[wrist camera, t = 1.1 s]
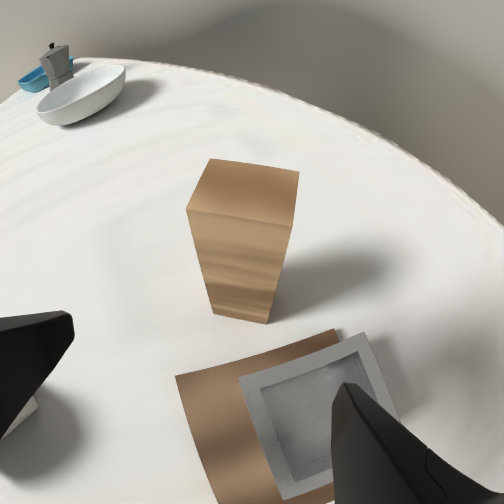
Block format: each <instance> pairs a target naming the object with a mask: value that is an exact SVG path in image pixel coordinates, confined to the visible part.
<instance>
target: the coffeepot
mask: <svg viewBox="0 0 504 504" xmlns="http://www.w3.org/2000/svg"><path fill="white" fill-rule="evenodd" d="M49 47H50V49H51V50H49V51H48V52H47V53H46V54H45V55H43V56H42V57H41V58H40V59H39V60H40V62H41V65H42V67H43V69H44V71H45V73H46V75H47V76H48V78H49V80H50V81H49V85H50V92H51V91H52V90H54V89H55V88H57V87H58V86H60V85H61V84H63V83H65V82H66V81H68V80H70V79H72V78H74V76H73V74H72V72H71V71H70V69H69V65H70V62H69V48H68V45H64V46H57V47H55V48H54V43H51V44H50V45H49Z"/></svg>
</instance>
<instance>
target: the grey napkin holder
mask: <svg viewBox="0 0 504 504" xmlns="http://www.w3.org/2000/svg"><path fill="white" fill-rule="evenodd" d="M37 408H39V407H38V403H37V401H36V399H35V397H34V396H32V397H31V399H30V400H29V401H28V402H27V404H26V405H25V406H24V408H23V409H22V410H21V412H20V413H19V415H18V416H17V417H16V419H15V420H14V421H13V423H12V424H11V426H10V427H9V429H8V430H7V431H6V433H5V434H4V436H3V437H2V439H1V440H0V441H2V440H3V439H4V438H5V437H6V436H7V435H8V434H9V433H10V432H11V431H13V430H14V429H15V428H16V427H17V426H18V425H19V424H20V423H22V422H23V421H24V420H25V419H26V418H27V417H28V416H29V415H31V414H32V413H33V412H34V411H35V410H36V409H37Z"/></svg>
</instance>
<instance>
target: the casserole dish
mask: <svg viewBox="0 0 504 504" xmlns="http://www.w3.org/2000/svg"><path fill="white" fill-rule="evenodd" d="M69 62H70V65H69V69H70V71H71V70H72V65H73V56H69ZM49 81H50V80H49V78H48V76H47V75H46V73H45V71H44V69H43V67H42V65H41V66H39V67H38V68H36V69H34V70H33V71H31V72H30V73H28V74H26V75H25V76H24V77H22V78H21V79H20V80H19V81H18V82H17V83H18V84H19V85H20V87H21V88H22V89H23V90H25V91H29V92H39V91H41V90H43V89H44V88H46V87H48V86H49Z"/></svg>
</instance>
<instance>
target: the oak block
mask: <svg viewBox="0 0 504 504" xmlns="http://www.w3.org/2000/svg"><path fill="white" fill-rule="evenodd" d="M298 179H299V172H297V171H292V170H287V169H281V168H275V167H269V166H263V165H256V164H249V163H242V162H235V161H227V160H219V159H210V160H209V162H208V164H207V166H206V168H205V170H204V172H203V174H202V176H201V178H200V180H199V182H198V184H197V186H196V188H195V190H194V192H193V194H192V197H191V199H190V201H189V203H188V205H187V207H186V212H187V216H188V220H189V224H190V228H191V232H192V236H193V240H194V244H195V248H196V252H197V256H198V260H199V264H200V267H201V271H202V275H203V279H204V282H205V286H206V289H207V293H208V297H209V300H210V304H211V307H212V310H213V314H217V315H222V316H226V317H231V318H236V319H241V320H246V321H251V322H256V323H261V324H266V325H267V321H268V318H269V314H270V311H271V307H272V303H273V300H274V296H275V292H276V288H277V285H278V281H279V277H280V273H281V269H282V266H283V262H284V258H285V254H286V250H287V246H288V242H289V238H290V234H291V230H292V225H293V218H294V210H295V203H296V195H297V187H298Z"/></svg>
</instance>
